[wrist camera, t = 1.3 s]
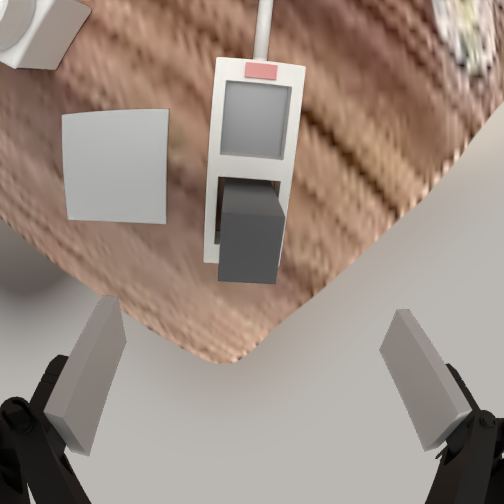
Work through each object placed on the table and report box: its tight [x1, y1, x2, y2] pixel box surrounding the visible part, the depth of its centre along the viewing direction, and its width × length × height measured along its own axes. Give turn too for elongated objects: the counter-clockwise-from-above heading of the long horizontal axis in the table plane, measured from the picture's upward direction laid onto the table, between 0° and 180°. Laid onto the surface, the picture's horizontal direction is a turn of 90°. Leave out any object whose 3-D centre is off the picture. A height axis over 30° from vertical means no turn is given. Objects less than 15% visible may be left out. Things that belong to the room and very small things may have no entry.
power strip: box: [204, 0, 306, 267], centre depth 24 cm, size 27×7×4 cm, turn 175°
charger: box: [218, 177, 285, 284], centre depth 25 cm, size 5×4×10 cm
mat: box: [62, 109, 169, 224], centre depth 27 cm, size 11×11×1 cm
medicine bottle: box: [0, 0, 91, 70], centre depth 14 cm, size 7×7×12 cm
